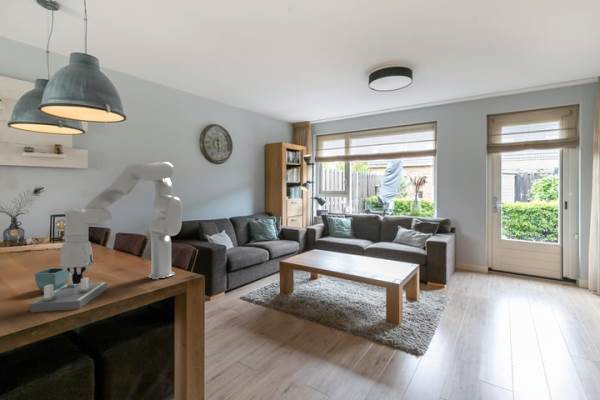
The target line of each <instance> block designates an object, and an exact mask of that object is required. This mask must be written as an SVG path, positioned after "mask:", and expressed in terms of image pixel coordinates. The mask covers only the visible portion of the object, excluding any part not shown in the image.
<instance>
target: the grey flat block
mask: <svg viewBox="0 0 600 400" xmlns="http://www.w3.org/2000/svg"><path fill="white" fill-rule="evenodd" d="M68 284H69V283H66V284H65V285H64V286H63V287H61V288H59V289H57V290H55V291H54V295H56V298H54V299H52V300H50V301H41V299H42V298H44V296H42V297H40V298H38V299H36V300H35V301H33V302H32V303H30V304H29V306H30V307H29V308H30V309H29V312H30V313H38V312H39V313H40V312H51V311H54V312H55V311H64V310H65V311H68V310H69V311H70V310H80V309H82V308H83V307H84V306H86V304H88V303H89V302H91V301H92V300H94V299H95V298H96V297H98V296H99V295H101V294H102V293H103V292H104V291H106V290H107V289H108V282H106V281H105V282H104V281H102V282H89V287H91V289H90V290H89V291H87V292H78V290H80V289H81V283H79V284H78V285H77V286H75V287H67V285H68Z"/></svg>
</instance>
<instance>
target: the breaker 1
mask: <svg viewBox="0 0 600 400" xmlns="http://www.w3.org/2000/svg"><path fill="white" fill-rule="evenodd" d="M43 297H44V298H42V297H41V298H42V299H41V301H50V300H52V299H54V298H56V295H54V284H53V285H47V286H44V292H43Z"/></svg>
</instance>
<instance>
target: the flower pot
mask: <svg viewBox="0 0 600 400" xmlns="http://www.w3.org/2000/svg"><path fill="white" fill-rule="evenodd" d="M69 274H70V272H69V271H68V270H63V269H62V267H58V268H57V267H51V268H46V269H44V270H41V271H36V272H35V273H34V278H35V283H36V286H37V288H38V289H39V290H40V291H41V292H42V293H44V286H47V285H53V284H54V291H55V290H57V289H59V288H61V287H63V286H65V285H67V281H68V280H69Z"/></svg>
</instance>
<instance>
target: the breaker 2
mask: <svg viewBox="0 0 600 400" xmlns="http://www.w3.org/2000/svg"><path fill="white" fill-rule="evenodd" d="M67 284H68V285H67ZM67 284H66V285H67V287H75V286H77V285H78V284H73V282H72V275H71V273H69V274H68V283H67Z"/></svg>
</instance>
